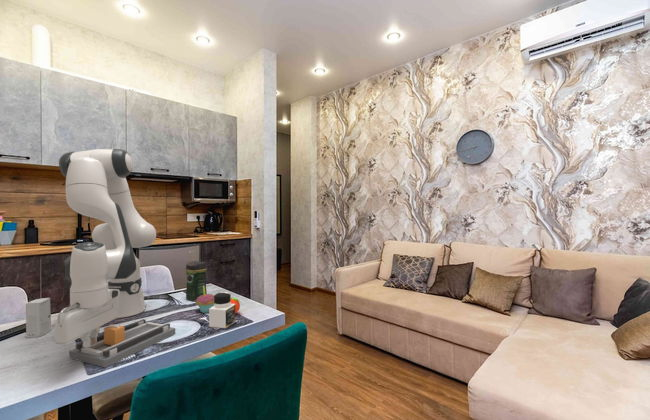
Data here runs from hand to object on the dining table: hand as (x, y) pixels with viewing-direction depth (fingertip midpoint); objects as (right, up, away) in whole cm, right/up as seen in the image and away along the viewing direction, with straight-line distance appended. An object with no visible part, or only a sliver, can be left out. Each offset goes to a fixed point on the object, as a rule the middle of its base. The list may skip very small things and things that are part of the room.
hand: (90, 345), depth 88 cm
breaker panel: (+4, -5, +10) cm, 12 cm away
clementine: (+30, -5, +38) cm, 49 cm away
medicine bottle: (+30, -5, +27) cm, 41 cm away
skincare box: (-33, -5, +19) cm, 39 cm away
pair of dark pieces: (+4, -2, +10) cm, 11 cm away
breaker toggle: (+2, -2, +7) cm, 7 cm away
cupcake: (+17, -5, +43) cm, 46 cm away
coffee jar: (+5, -4, +60) cm, 60 cm away
